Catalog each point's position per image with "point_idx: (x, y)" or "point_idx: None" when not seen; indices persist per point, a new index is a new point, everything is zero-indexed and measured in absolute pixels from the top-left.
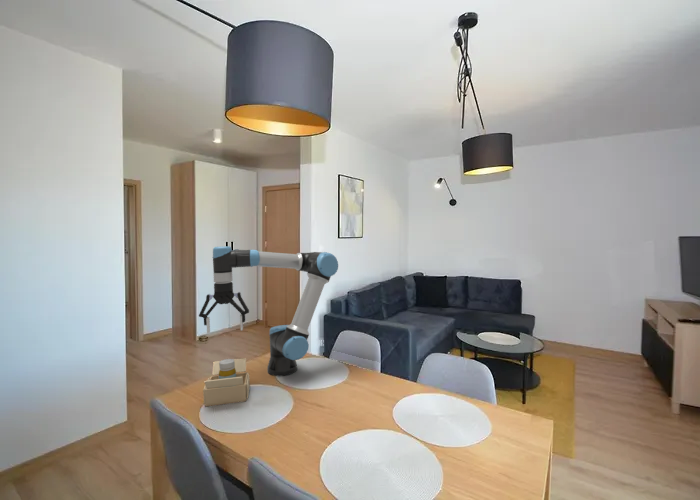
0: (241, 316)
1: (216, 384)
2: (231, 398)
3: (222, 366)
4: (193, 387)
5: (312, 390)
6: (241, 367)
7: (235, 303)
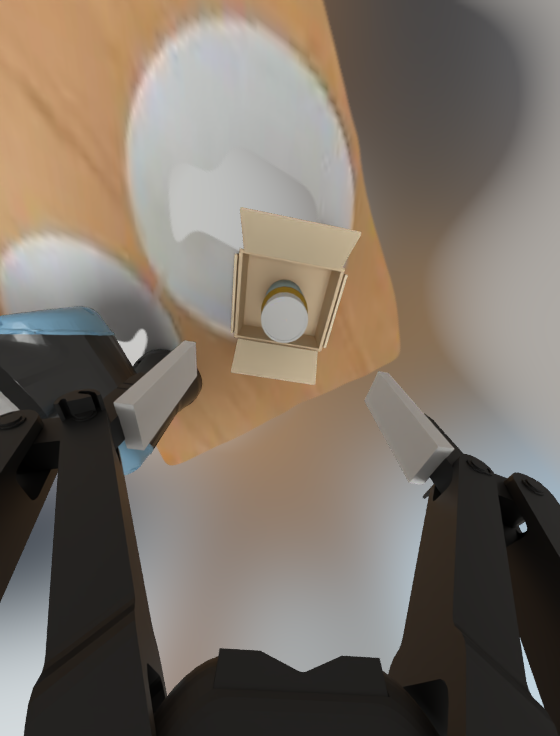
0: (125, 397)
1: (319, 248)
2: None
3: (299, 300)
4: (344, 373)
5: (83, 233)
6: (246, 350)
7: (66, 629)
